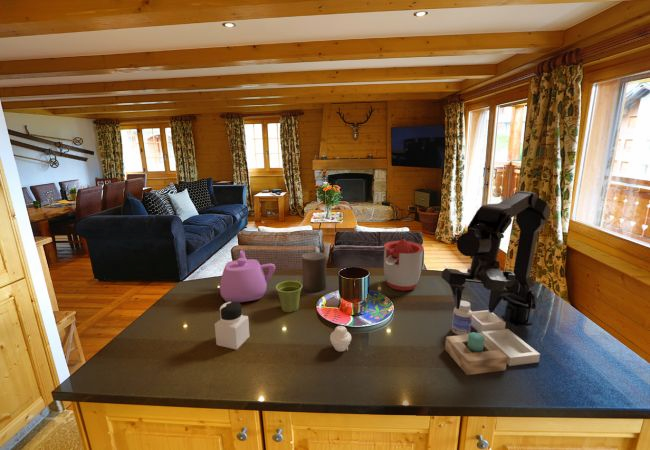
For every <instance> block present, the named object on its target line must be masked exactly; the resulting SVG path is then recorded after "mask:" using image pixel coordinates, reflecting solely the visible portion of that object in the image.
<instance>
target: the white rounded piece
mask: <svg viewBox="0 0 650 450" xmlns="http://www.w3.org/2000/svg"><path fill="white" fill-rule="evenodd" d="M329 340H330V342H331V345H332V346H333V348H334V350H335V351H337V352H344V351H346V350H347V348H348V347H349V345H350V344H351V341H352V334H351V333H350V332H349V331H348V329H347V328H346V327H345V326H343V325H337V326H336V327H335V328H334V331H332V332H331V334H330V335H329Z"/></svg>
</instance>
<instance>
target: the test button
mask: <svg viewBox="0 0 650 450" xmlns="http://www.w3.org/2000/svg"><path fill="white" fill-rule="evenodd" d="M484 341H485V337H484V336H483V335H481V334H479V333H478V332H477V331H476V332H473V331H472V332H471V331H470V333H469V335H468V343H467V348H468V349H469V350H470V351H471V352H472V353H476V352H483V348H484Z"/></svg>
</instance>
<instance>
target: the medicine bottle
mask: <svg viewBox="0 0 650 450" xmlns="http://www.w3.org/2000/svg"><path fill="white" fill-rule="evenodd" d="M242 311H243V310H242V304H241V302H227V301H226V302H225V303H223V304H222V305H220V307H219V313H220V319H219V320H217V322H215V323H214V330H215V331H214V332H215V341H216V342H215V343H216V346H219V347H224V348H227V349H233V350H238V349H239V348H240V347H241V346H242V345H243V344H244V343H245V342H246V341H247V340H248V339H249V338H250V323H249V316H248V315H243V312H242Z"/></svg>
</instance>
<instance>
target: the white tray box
mask: <svg viewBox="0 0 650 450" xmlns="http://www.w3.org/2000/svg"><path fill="white" fill-rule="evenodd" d="M506 323H507V322H506V321H504V319H502V318H501V317H499V316H498V315H496V314H495V313H494V311H493V312H492V313H490V312H489V309H486V310H476V311H472V321H471V328H473V329H474V330H475V331H476V333H481V332H484V331H493V330H502V329H506V325H507V324H506Z"/></svg>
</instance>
